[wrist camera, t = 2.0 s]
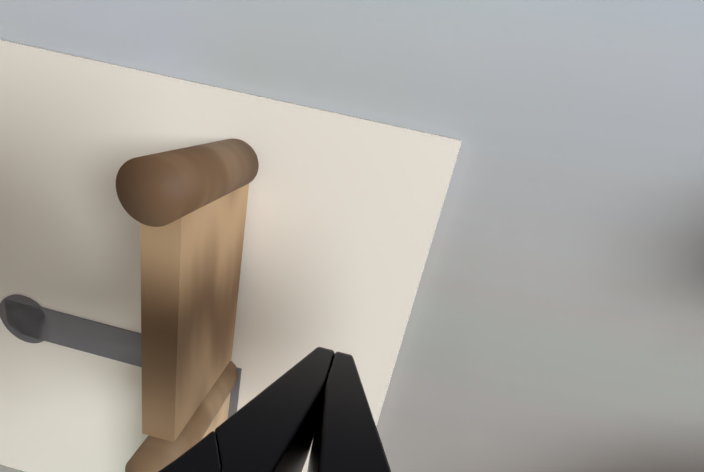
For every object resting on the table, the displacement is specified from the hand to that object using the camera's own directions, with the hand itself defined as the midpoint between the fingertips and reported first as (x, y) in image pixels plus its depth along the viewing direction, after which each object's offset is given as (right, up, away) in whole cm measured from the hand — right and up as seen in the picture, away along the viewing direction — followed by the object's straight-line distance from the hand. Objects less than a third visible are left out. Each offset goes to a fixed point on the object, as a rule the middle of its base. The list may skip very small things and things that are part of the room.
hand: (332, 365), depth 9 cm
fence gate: (-5, +2, +7) cm, 9 cm away
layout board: (-10, -2, +10) cm, 14 cm away
